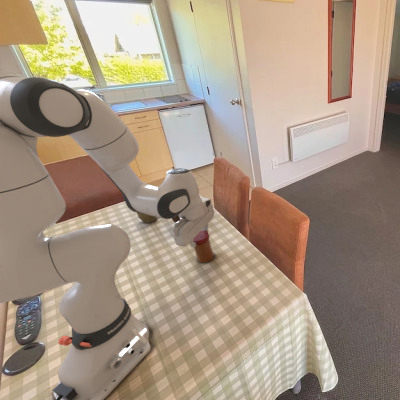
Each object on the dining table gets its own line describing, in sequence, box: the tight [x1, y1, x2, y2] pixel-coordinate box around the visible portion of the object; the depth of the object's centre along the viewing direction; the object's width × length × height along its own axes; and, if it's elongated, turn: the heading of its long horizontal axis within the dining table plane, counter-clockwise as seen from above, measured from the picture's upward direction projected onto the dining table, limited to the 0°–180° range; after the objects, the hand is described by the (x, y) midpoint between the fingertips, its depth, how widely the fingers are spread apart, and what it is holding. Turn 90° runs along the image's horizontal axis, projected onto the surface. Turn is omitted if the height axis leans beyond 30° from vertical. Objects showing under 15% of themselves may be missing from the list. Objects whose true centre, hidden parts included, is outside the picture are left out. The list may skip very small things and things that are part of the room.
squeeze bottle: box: [136, 213, 157, 224], centre depth 128 cm, size 8×8×18 cm
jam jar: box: [193, 238, 215, 264], centre depth 106 cm, size 6×6×11 cm
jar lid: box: [193, 231, 210, 245], centre depth 103 cm, size 7×7×2 cm
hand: (200, 239), depth 104 cm, fingers closed on jar lid, 6 cm apart
